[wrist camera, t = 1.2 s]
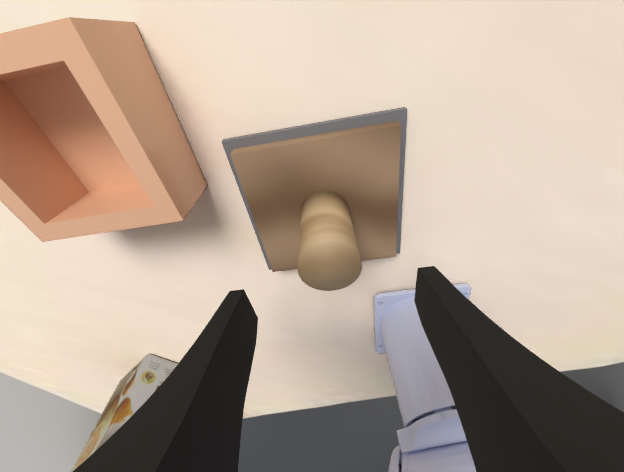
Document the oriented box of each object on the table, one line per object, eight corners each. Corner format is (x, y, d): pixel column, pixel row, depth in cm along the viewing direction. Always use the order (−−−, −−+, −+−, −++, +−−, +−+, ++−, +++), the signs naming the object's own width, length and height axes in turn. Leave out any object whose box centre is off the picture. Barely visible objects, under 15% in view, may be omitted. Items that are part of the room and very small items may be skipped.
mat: (398, 249, 20) (399, 253, 19) (269, 266, 21) (269, 269, 20) (404, 107, 14) (407, 108, 13) (223, 139, 15) (221, 141, 14)
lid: (393, 248, 19) (419, 316, 15) (273, 264, 20) (263, 332, 15) (396, 120, 14) (440, 163, 9) (233, 149, 15) (198, 201, 10)
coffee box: (147, 351, 28) (15, 608, 16) (201, 369, 31) (126, 603, 18) (118, 380, 32) (-5, 603, 20) (168, 394, 35) (88, 599, 22)
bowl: (207, 184, 16) (183, 220, 13) (91, 203, 17) (42, 241, 14) (134, 22, 12) (68, 17, 8) (-23, 58, 12) (-138, 65, 9)
